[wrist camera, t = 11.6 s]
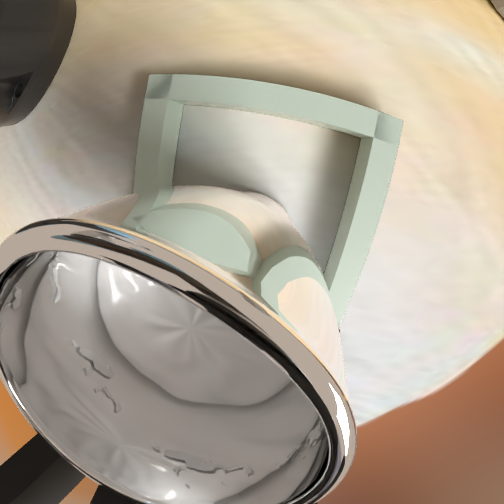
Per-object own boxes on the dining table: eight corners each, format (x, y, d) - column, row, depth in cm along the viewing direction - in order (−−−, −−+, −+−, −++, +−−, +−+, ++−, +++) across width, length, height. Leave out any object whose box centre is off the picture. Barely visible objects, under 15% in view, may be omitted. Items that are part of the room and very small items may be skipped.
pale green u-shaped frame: (147, 263, 19) (131, 279, 17) (167, 81, 14) (149, 74, 12) (334, 306, 19) (338, 327, 17) (387, 123, 14) (403, 120, 11)
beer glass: (248, 310, 19) (184, 531, 4) (173, 240, 18) (-24, 366, 3) (324, 240, 17) (451, 446, 2) (244, 161, 16) (52, 66, 2)
